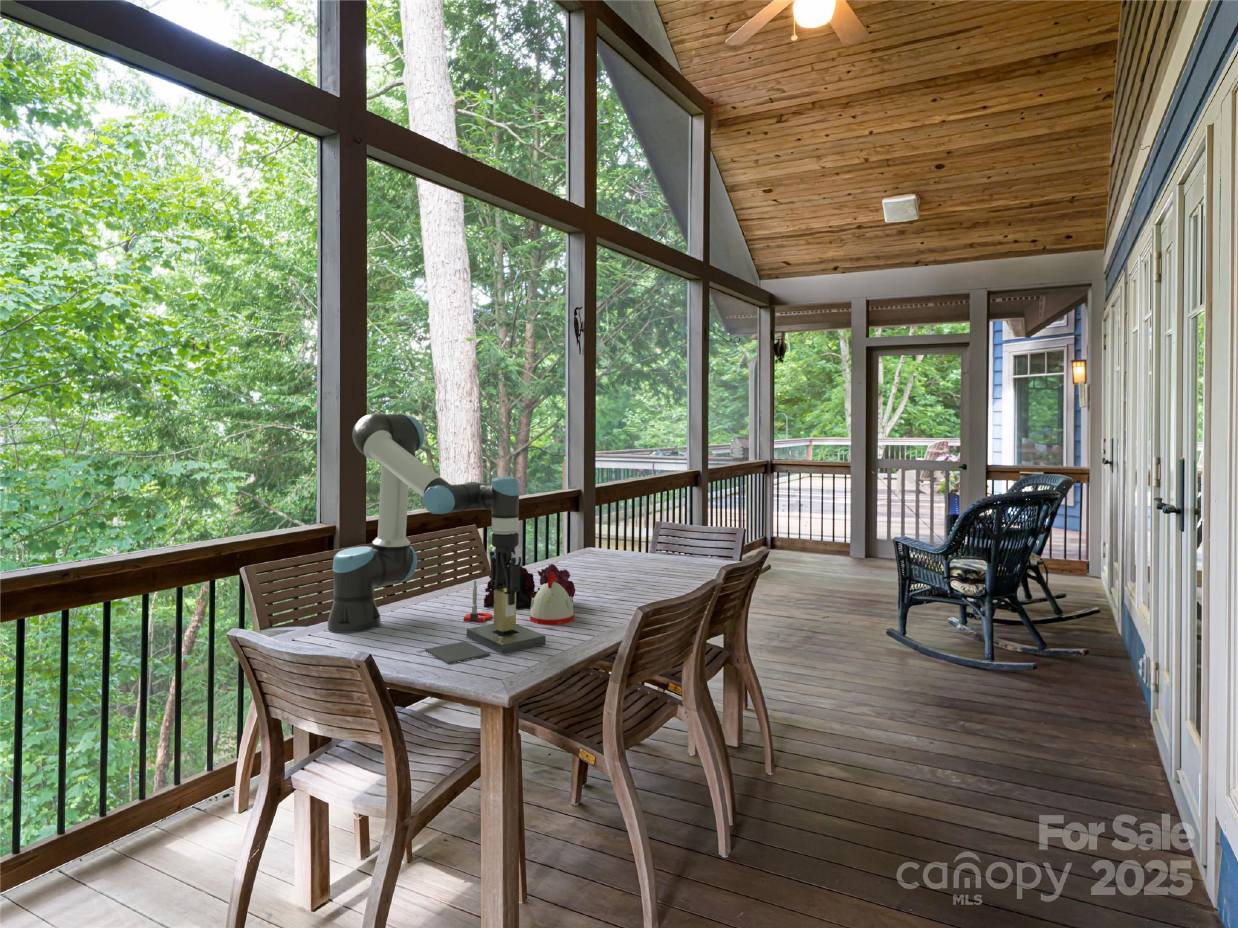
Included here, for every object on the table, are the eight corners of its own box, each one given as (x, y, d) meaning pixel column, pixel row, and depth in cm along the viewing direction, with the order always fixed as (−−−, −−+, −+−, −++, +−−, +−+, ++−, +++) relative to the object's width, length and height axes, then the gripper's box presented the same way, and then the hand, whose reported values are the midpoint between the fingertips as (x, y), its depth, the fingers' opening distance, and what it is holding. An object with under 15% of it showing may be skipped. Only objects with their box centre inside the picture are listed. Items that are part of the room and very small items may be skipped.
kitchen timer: (524, 623, 224) (524, 575, 223) (536, 612, 238) (536, 567, 237) (568, 625, 222) (568, 577, 221) (577, 614, 236) (577, 568, 235)
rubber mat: (424, 651, 195) (424, 648, 195) (465, 643, 203) (465, 640, 203) (448, 664, 185) (448, 661, 185) (490, 655, 192) (490, 652, 192)
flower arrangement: (478, 610, 241) (478, 565, 240) (499, 597, 260) (498, 555, 259) (569, 615, 235) (569, 569, 234) (583, 601, 254) (583, 559, 254)
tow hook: (470, 615, 235) (460, 621, 226) (471, 575, 235) (461, 580, 226) (495, 616, 234) (486, 622, 225) (496, 576, 234) (487, 581, 225)
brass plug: (493, 627, 206) (494, 589, 205) (507, 625, 209) (507, 587, 208) (501, 631, 202) (502, 592, 202) (515, 628, 205) (516, 590, 205)
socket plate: (466, 637, 209) (466, 628, 209) (508, 629, 218) (508, 620, 217) (501, 653, 193) (501, 644, 193) (545, 644, 202) (545, 635, 202)
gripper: (533, 534, 200) (532, 618, 201) (501, 527, 213) (500, 605, 214) (509, 537, 195) (509, 622, 196) (478, 529, 208) (478, 609, 210)
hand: (504, 613), depth 205 cm, fingers closed on brass plug, 4 cm apart
